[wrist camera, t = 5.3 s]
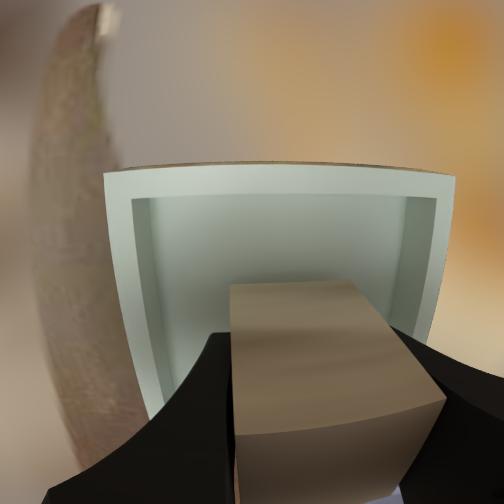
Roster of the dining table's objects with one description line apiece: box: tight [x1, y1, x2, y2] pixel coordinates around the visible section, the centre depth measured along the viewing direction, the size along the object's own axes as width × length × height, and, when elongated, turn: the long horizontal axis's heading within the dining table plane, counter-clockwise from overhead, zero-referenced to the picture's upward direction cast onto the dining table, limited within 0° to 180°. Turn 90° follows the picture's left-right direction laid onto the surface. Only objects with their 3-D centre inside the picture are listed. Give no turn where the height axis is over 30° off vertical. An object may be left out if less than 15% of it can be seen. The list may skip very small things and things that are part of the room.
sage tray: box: [104, 161, 456, 420], centre depth 11 cm, size 11×11×2 cm
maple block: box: [230, 279, 447, 504], centre depth 8 cm, size 4×4×6 cm
